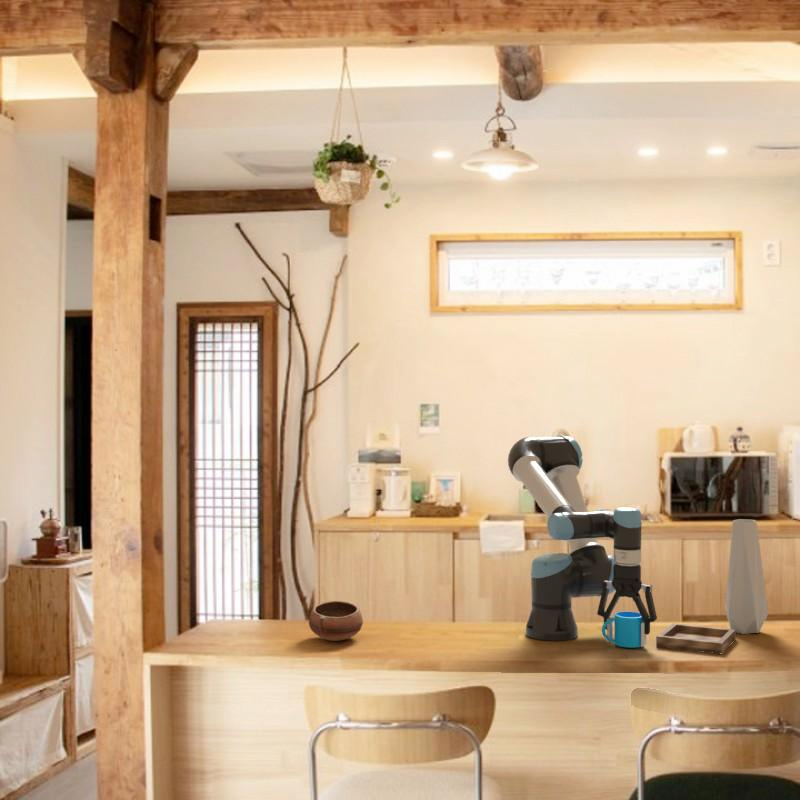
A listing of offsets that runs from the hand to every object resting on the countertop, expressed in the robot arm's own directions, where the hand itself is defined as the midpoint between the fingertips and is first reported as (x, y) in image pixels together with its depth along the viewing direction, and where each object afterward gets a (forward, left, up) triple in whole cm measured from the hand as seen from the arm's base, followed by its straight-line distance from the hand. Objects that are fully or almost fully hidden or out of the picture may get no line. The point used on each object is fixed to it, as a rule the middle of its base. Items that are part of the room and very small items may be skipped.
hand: (626, 643), depth 297 cm
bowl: (-78, -29, -1) cm, 83 cm away
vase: (+26, +34, -1) cm, 43 cm away
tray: (+16, +13, -1) cm, 21 cm away
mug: (-1, 0, 0) cm, 1 cm away
